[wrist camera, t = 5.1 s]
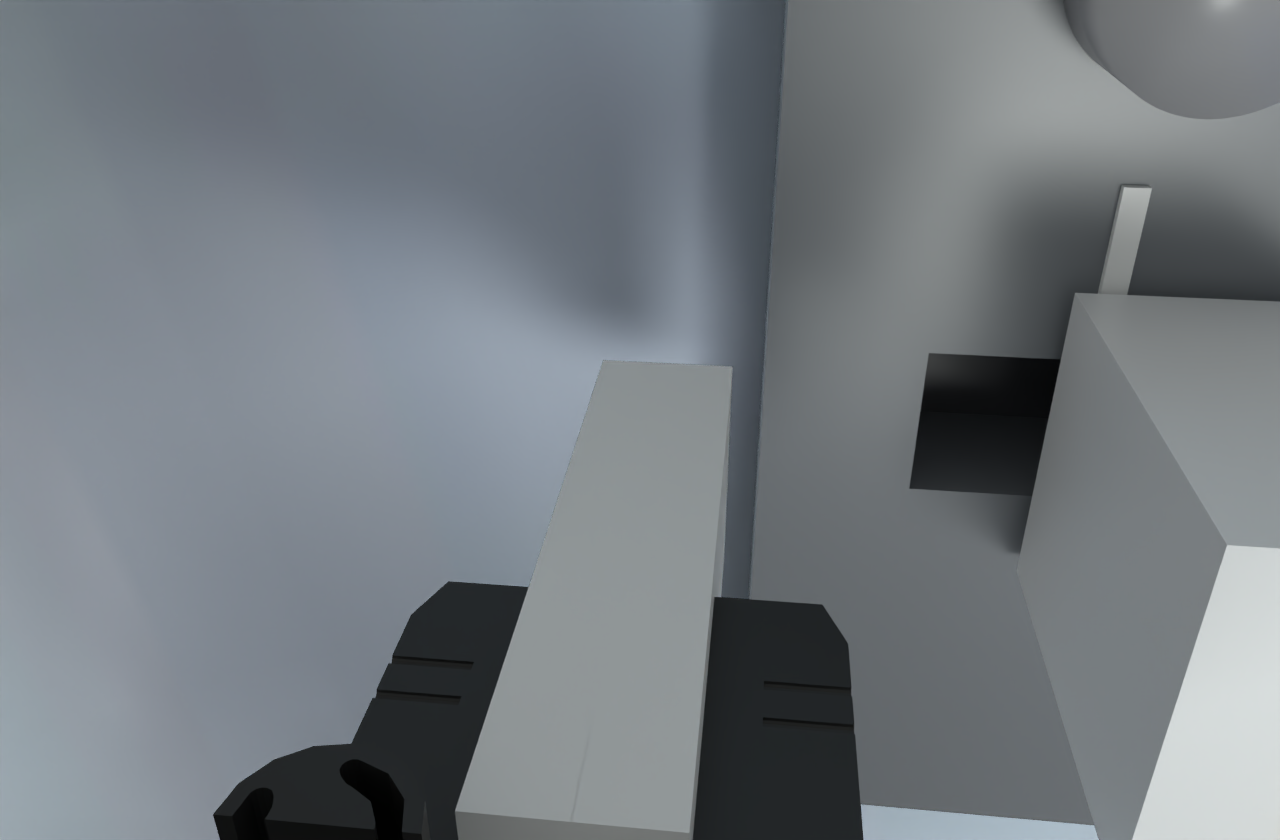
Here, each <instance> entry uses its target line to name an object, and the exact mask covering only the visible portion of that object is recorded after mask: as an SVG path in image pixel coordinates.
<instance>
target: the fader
mask: <svg viewBox="0 0 1280 840" xmlns="http://www.w3.org/2000/svg"><path fill="white" fill-rule="evenodd" d="M1017 574H1018V577H1019V580H1020V583H1021V587H1022V590H1023V593H1024V597H1025V600H1026V603H1027V606H1028V610H1029V613H1030V616H1031V619H1032V623H1033V626H1034V629H1035V633H1036V636H1037V639H1038V642H1039V646H1040V649H1041V652H1042V655H1043V659H1044V662H1045V665H1046V668H1047V672H1048V675H1049V678H1050V682H1051V685H1052V688H1053V691H1054V695H1055V698H1056V701H1057V704H1058V708H1059V711H1060V714H1061V718H1062V721H1063V724H1064V727H1065V731H1066V734H1067V737H1068V740H1069V744H1070V747H1071V750H1072V753H1073V757H1074V760H1075V763H1076V767H1077V770H1078V773H1079V776H1080V780H1081V783H1082V786H1083V789H1084V793H1085V796H1086V799H1087V803H1088V806H1089V809H1090V812H1091V816H1092V819H1093V822H1094V825H1095V829H1096V832H1097V835H1098V839H1099V840H1280V302H1279V301H1255V300H1232V299H1209V298H1186V297H1163V296H1139V295H1116V294H1093V293H1075V295H1074V300H1073V304H1072V309H1071V314H1070V319H1069V324H1068V328H1067V333H1066V338H1065V343H1064V347H1063V352H1062V357H1061V362H1060V366H1059V371H1058V376H1057V381H1056V385H1055V390H1054V395H1053V400H1052V404H1051V409H1050V414H1049V419H1048V424H1047V428H1046V433H1045V438H1044V443H1043V447H1042V452H1041V457H1040V462H1039V466H1038V471H1037V476H1036V481H1035V485H1034V490H1033V495H1032V500H1031V505H1030V509H1029V514H1028V519H1027V524H1026V528H1025V533H1024V538H1023V543H1022V547H1021V552H1020V557H1019V562H1018V566H1017Z"/></svg>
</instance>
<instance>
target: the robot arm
mask: <svg viewBox="0 0 1280 840" xmlns="http://www.w3.org/2000/svg"><path fill="white" fill-rule="evenodd" d="M732 370H733V366H712V365H692V364H672V363H652V362H631V361H611V360H603V362H602V365H601V369H600V372H599V375H598V378H597V381H596V384H595V387H594V390H593V393H592V396H591V399H590V402H589V405H588V408H587V411H586V414H585V417H584V420H583V423H582V426H581V429H580V432H579V435H578V438H577V442H576V445H575V448H574V451H573V454H572V457H571V460H570V463H569V466H568V469H567V472H566V475H565V478H564V481H563V484H562V487H561V490H560V493H559V496H558V499H557V502H556V505H555V508H554V511H553V514H552V518H551V521H550V524H549V527H548V530H547V533H546V536H545V539H544V542H543V545H542V548H541V551H540V554H539V557H538V560H537V563H536V566H535V569H534V572H533V575H532V578H531V581H530V584H529V587H519V586H505V585H491V584H477V583H463V582H447V583H446V584H445V585H444V586H443V587H442V588H441V589H440V590H438V591H437V592H436V593H435V594H434V595H433V596H432V597H431V598H429V599H428V600H427V601H426V602H425V603H424V604H423V605H422V606H421V607H419V608H418V609H417V610H416V611H415V612H414V613H413V614H412V615H411V616H410V619H409V621H408V623H407V625H406V627H405V629H404V632H403V634H402V636H401V638H400V640H399V642H398V644H397V647H396V649H395V651H394V653H393V655H392V663H391V664H388V666H387V668H386V670H385V673H384V675H383V677H382V679H381V681H380V683H379V685H378V688H377V694H376V698H372V701H371V703H370V705H369V707H368V709H367V711H366V714H365V716H364V718H363V720H362V722H361V724H360V726H359V729H358V731H357V733H356V735H355V737H354V739H353V742H352V744H342V745H327V746H313V747H310V748H307V749H304V750H301V751H298V752H295V753H293V754H290V755H287V756H284V757H281V758H278V759H275V760H273V761H271V762H270V763H268V764H267V765H265V766H264V767H262V768H261V769H259V770H258V771H256V772H255V773H254V774H252V775H251V776H249V777H248V778H246V779H245V780H243V781H242V782H240V783H239V784H238V785H237V786H236V787H235V788H234V790H233V791H232V792H231V793H230V795H229V796H228V797H227V798H226V799H225V801H224V802H223V803H222V804H221V806H220V807H219V808H218V809H217V810H216V812H215V813H214V814H213V816H214V819H215V823H216V827H217V830H218V834H219V837H220V840H863V830H862V817H861V804H860V791H859V778H858V765H857V752H856V739H855V734H854V712H853V699H852V696H851V689H852V686H851V673H850V660H849V647H848V643H847V641H846V639H845V638H844V636H843V635H842V633H841V632H840V630H839V629H838V627H837V626H836V624H835V623H834V621H833V620H832V618H831V617H830V615H829V614H828V612H827V611H826V609H825V608H824V606H823V604H809V603H795V602H781V601H767V600H752V599H738V598H724V597H721V592H722V580H723V567H724V551H725V528H726V506H727V483H728V460H729V438H730V415H731V392H732Z"/></svg>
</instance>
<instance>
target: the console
mask: <svg viewBox="0 0 1280 840" xmlns="http://www.w3.org/2000/svg"><path fill="white" fill-rule="evenodd" d="M1075 293H1093V294H1116V295H1139V296H1163V297H1186V298H1209V299H1232V300H1255V301H1279V302H1280V0H785V16H784V33H783V49H782V65H781V81H780V98H779V114H778V130H777V146H776V162H775V179H774V195H773V211H772V227H771V243H770V260H769V276H768V292H767V308H766V325H765V341H764V357H763V373H762V389H761V406H760V422H759V438H758V454H757V470H756V487H755V503H754V519H753V535H752V552H751V568H750V584H749V599H752V600H767V601H781V602H795V603H809V604H823V606H824V608H825V609H826V611H827V612H828V614H829V615H830V617H831V618H832V620H833V621H834V623H835V624H836V626H837V627H838V629H839V630H840V632H841V633H842V635H843V636H844V638H845V639H846V641H847V643H848V647H849V660H850V673H851V686H852V689H851V696H852V699H853V712H854V734H855V739H856V752H857V765H858V778H859V791H860V804H864V805H876V806H887V807H898V808H909V809H920V810H931V811H942V812H953V813H964V814H975V815H986V816H998V817H1009V818H1020V819H1031V820H1042V821H1053V822H1064V823H1075V824H1086V825H1094V822H1093V819H1092V816H1091V812H1090V809H1089V806H1088V803H1087V799H1086V796H1085V793H1084V789H1083V786H1082V783H1081V780H1080V776H1079V773H1078V770H1077V767H1076V763H1075V760H1074V757H1073V753H1072V750H1071V747H1070V744H1069V740H1068V737H1067V734H1066V731H1065V727H1064V724H1063V721H1062V718H1061V714H1060V711H1059V708H1058V704H1057V701H1056V698H1055V695H1054V691H1053V688H1052V685H1051V682H1050V678H1049V675H1048V672H1047V668H1046V665H1045V662H1044V659H1043V655H1042V652H1041V649H1040V646H1039V642H1038V639H1037V636H1036V633H1035V629H1034V626H1033V623H1032V619H1031V616H1030V613H1029V610H1028V606H1027V603H1026V600H1025V597H1024V593H1023V590H1022V587H1021V583H1020V580H1019V577H1018V574H1017V566H1018V562H1019V557H1020V552H1021V547H1022V543H1023V538H1024V533H1025V528H1026V524H1027V519H1028V514H1029V509H1030V505H1031V500H1032V495H1033V490H1034V485H1035V481H1036V476H1037V471H1038V466H1039V462H1040V457H1041V452H1042V447H1043V443H1044V438H1045V433H1046V428H1047V424H1048V419H1049V414H1050V409H1051V404H1052V400H1053V395H1054V390H1055V385H1056V381H1057V376H1058V371H1059V366H1060V362H1061V357H1062V352H1063V347H1064V343H1065V338H1066V333H1067V328H1068V324H1069V319H1070V314H1071V309H1072V304H1073V300H1074V295H1075Z"/></svg>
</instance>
